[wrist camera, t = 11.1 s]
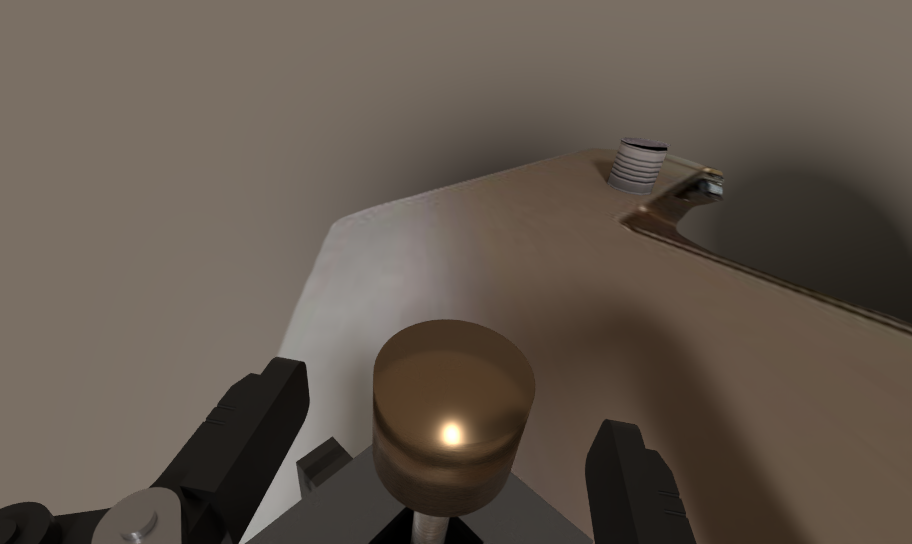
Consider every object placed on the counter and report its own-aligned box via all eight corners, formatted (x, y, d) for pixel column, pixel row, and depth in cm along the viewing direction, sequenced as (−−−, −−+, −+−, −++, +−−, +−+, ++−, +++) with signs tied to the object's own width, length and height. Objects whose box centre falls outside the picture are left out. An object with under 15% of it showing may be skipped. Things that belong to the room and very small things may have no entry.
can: (621, 194, 100) (638, 145, 93) (598, 178, 109) (613, 132, 102) (661, 196, 102) (680, 148, 96) (635, 179, 111) (652, 135, 105)
